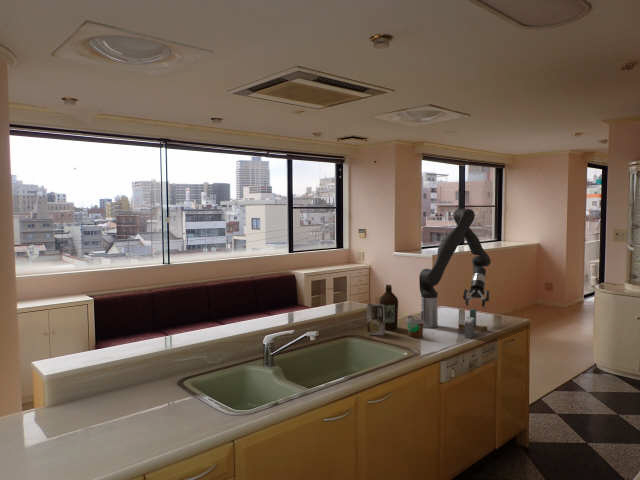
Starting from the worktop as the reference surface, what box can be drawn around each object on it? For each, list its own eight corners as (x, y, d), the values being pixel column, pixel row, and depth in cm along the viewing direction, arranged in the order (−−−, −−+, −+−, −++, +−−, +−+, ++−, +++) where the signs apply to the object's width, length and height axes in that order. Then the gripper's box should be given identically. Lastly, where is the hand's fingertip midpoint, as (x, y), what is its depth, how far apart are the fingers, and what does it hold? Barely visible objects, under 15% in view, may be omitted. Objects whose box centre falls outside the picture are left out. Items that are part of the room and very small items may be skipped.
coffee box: (385, 332, 267) (385, 303, 266) (383, 335, 261) (383, 306, 260) (368, 331, 269) (368, 303, 268) (366, 334, 263) (366, 305, 262)
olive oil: (380, 325, 282) (380, 283, 281) (398, 326, 280) (398, 283, 279) (378, 330, 272) (378, 286, 270) (398, 331, 270) (397, 286, 268)
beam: (458, 329, 272) (458, 309, 272) (459, 327, 275) (459, 308, 274) (486, 331, 265) (486, 311, 265) (487, 330, 268) (487, 310, 267)
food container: (401, 334, 263) (401, 316, 262) (411, 333, 265) (411, 315, 264) (413, 339, 251) (413, 320, 251) (424, 338, 254) (424, 319, 253)
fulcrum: (464, 337, 254) (464, 320, 253) (468, 333, 263) (468, 316, 262) (470, 338, 252) (470, 321, 252) (473, 333, 261) (473, 317, 261)
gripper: (464, 278, 285) (461, 301, 275) (490, 279, 278) (487, 303, 269) (466, 286, 290) (462, 308, 280) (491, 287, 283) (488, 310, 274)
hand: (474, 305), depth 275 cm, fingers open, 8 cm apart
